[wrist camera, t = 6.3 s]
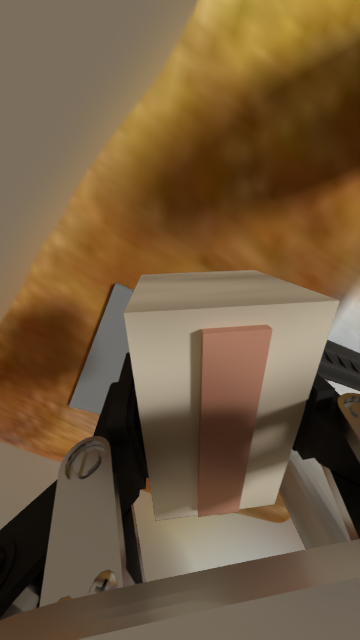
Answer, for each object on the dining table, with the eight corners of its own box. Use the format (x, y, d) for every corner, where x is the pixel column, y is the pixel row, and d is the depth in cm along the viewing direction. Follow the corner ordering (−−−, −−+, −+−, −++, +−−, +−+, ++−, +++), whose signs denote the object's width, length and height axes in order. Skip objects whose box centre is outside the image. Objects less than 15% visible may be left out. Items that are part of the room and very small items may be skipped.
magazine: (174, 341, 16) (529, 503, 15) (190, 306, 15) (575, 479, 14) (195, 300, 32) (366, 376, 31) (203, 281, 31) (381, 360, 30)
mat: (211, 324, 26) (212, 326, 25) (151, 423, 32) (151, 426, 32) (116, 282, 22) (115, 283, 22) (70, 403, 29) (68, 406, 28)
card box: (235, 414, 12) (277, 511, 8) (156, 422, 12) (155, 529, 8) (254, 269, 9) (348, 303, 4) (141, 274, 8) (121, 317, 4)
